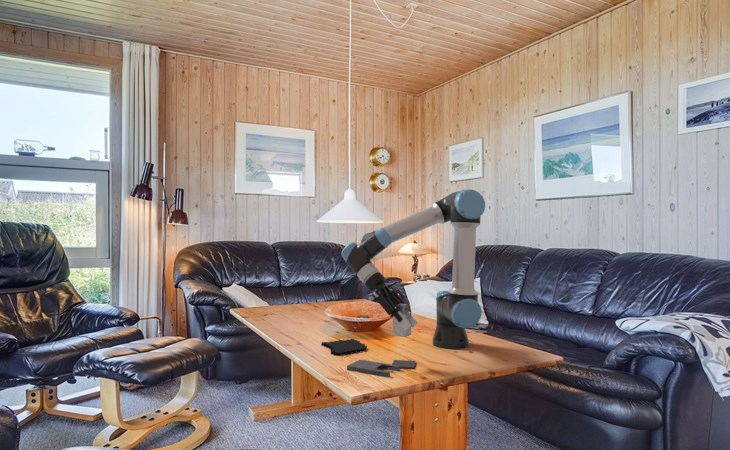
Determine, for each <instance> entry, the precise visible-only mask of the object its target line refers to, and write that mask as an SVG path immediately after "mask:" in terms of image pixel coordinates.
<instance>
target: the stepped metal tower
mask: <svg viewBox="0 0 730 450" xmlns="http://www.w3.org/2000/svg"><path fill="white" fill-rule="evenodd" d="M396 309H397V311H398V312H399V311H400V312H401V313H402V315H403V316H404V317H405V318H406V320H407V321H408V322H409V323H410V324H411V315H412V312H410V311H409V303H406V304H397V305H396ZM408 311H409V312H408ZM411 335H412V327H411V326H410V327H409V328H408V329H407V330H406V331H405V329H404V328H403V327H402V326H401V325H400V323H399V322H398V321H397V320H396V318H395V317H394V316H393V317H392V336H393V337H399V338H400V337H401V338H407V337H409V336H411Z"/></svg>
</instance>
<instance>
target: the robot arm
mask: <svg viewBox="0 0 730 450" xmlns="http://www.w3.org/2000/svg"><path fill="white" fill-rule="evenodd" d="M485 209H486V201H485V199H484V196H483V195H482V194H481V193H480V192H479V191H477V190H475V189H471V188H470V189H469V188H468V189H462V190H458V191H455V192H452V193H450V194H448V195H446V196H445V197H443V198H441V199H439V200H437V201H435V202H433V203H432V204H431V206H430V207H427V208H424V209H423V210H420V211H417V212H415V213H413V214H411V215H410V214H409V216H406V217H403V218H402V219H399V220H396V221H395V222H392V223H390V224H388V225H385V226H381V227H380V228H379V229H376V230H373V231H371V232H366V233H365V234H363V236H361V239H360V243H359V244H358V243H356V242H350V243H349V244H347V245H345V247H343V249H342V251H341V252H340V253H341V255H340V256H341V257H342V258H343V259H344V261H345V262H346V264H347V265H348V267H350V269H351V270H352V271H353V272H354V274H355V275H356V276H357V277H358V279H359V280H360V281H361V282H362V284H364V287H365V288H367V290H368V291H369V293H370V292H372V294H371V296H372V297H373V298H374V299H375V300H376V301H377V302H378V304H379V305H380V307H382V309H383V310H384V311H385V312H386V314H387V315H388V316H389V317H390V318H393V316H394V317H395V318H396V320H397V321H398V322H399V323H400V325H401V326H402V327H403V328H404V329H405V331H406V330H407V329H408V328H409V327H410V326H411V329H412V328H414V327H415V326H416V325H417V324H418V323H419V322H418V321H417V319H415V318H414V316H413V315H412V314H411V324H410V323H409V322H408V321H407V320H406V318H405V317H404V316H403V315H402V313H401V312H400V311H399V312H398V311H397V309H396V305H397V304H407V303H406V302H405V301H404V300H403V298H402V297H401V296H400V295H399V294H398V292H396V290H395V288H394V286H390V287H389V286H388V285H387V284H385V282H386V278H385V276H384V275H383V274H382V273H381V272H380V271H379V268H378V267H377V266H376V265H375V264H374V263H373V262H372V261H371V260H372V259H374V258H375V257H376V256H378V255H379V254H380V253H381V252H383V251H384V250H385V249H387V248H388V247H389V246H390V245H391V244H392V243H395V242H397V241H399V240H402V239H404V238H407V237H409V236H411V235H413V234H416V233H418V232H420V231H423V230H425V229H428V228H430V227H432V226H435V225H437V224H441V225H442V224H443V225H444V224H445V223H448V222H450V225H451V226H452V227H453V246H452V247H453V250H452V251H453V253H452V254H453V255H452V278H451V279H452V281H451V283H452V284H451V288H450V289H449V290H438V291H437V292H436V297H435V300H436V301H435V302H436V306H435V307H436V327H435V329H434V333H433V336H432V345H433V346H434V347H437V348H441V349H442V348H443V349H450V350H451V349H452V350H454V349H455V350H456V349H458V350H459V349H465V348H468V347H469V346H470V345H469V337H468V334H467V332H466V331H467V330H466V329H470V328H473V327H474V326H476V325H477V324H479V322H480V320H481V318H482V314H483V311H482V310H483V309H482V307H481V304H479V302H478V299H479V294H478V291H476V289H475V273H476V272H475V271H476V269H475V267H476V246H477V245H476V243H477V242H476V240H477V229H478V227H479V226H480V225H481V218H482V217H481V216H482V215H483V214H484V212H485V211H486V210H485ZM408 312H410V311H409V310H408Z"/></svg>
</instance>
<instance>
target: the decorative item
mask: <svg viewBox="0 0 730 450" xmlns="http://www.w3.org/2000/svg"><path fill="white" fill-rule="evenodd" d="M321 346H323V347H324V348H325V347H326V348H327V349H328V350H329V351H330V355H333V356H337V357H338V356H340V357H341V356H347V355H351V354H356V353H361V352H366V351H367V350H368V346H367V345H365V343H362V342H361V340H357V339H355V338H351V339H343V340H342V339H339V340H334V341H322V342H321Z"/></svg>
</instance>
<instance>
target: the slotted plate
mask: <svg viewBox="0 0 730 450" xmlns="http://www.w3.org/2000/svg"><path fill="white" fill-rule="evenodd" d="M382 369H384V370H382ZM346 370H347V371H352V372H358V373H363V374H369V375H374V376H378V377H386V378H389V377H391V371H396V372H399V371H401V368H400V366H397V365H392V364H390V363H383V362H378V361H372V360H367V359H359V360H356V361H354V362H352V363H350V364H348V365H346ZM387 370H390V371H387Z"/></svg>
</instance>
